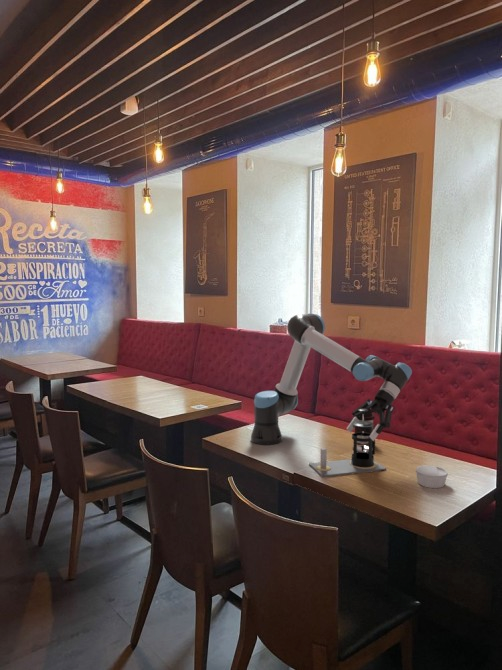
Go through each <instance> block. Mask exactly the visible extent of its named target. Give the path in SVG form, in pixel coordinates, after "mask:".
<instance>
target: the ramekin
mask: <svg viewBox="0 0 502 670" xmlns="http://www.w3.org/2000/svg"><path fill="white" fill-rule="evenodd" d="M415 473H416V478H417V482H418V484H419V485H421V486H423V487H425V488H428V489H441V488H443V487H444V486H445V484H446V481H447V477H448V471H447V470H446V469H444V468H443V467H439V466H434V465H419V466H417V467H416V468H415Z"/></svg>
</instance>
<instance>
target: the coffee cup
mask: <svg viewBox="0 0 502 670" xmlns="http://www.w3.org/2000/svg"><path fill="white" fill-rule="evenodd" d="M355 414H356V413H355ZM352 416H353V415H352ZM375 416H376V415H375V414H374V413H369V414H367V415H365V416H364V421H367V422H371V423H373V424H374V420H375ZM353 417H354V416H353ZM353 417H352V418H353ZM359 421H363V417H362V418H360V419H359ZM373 430H374V429H373ZM373 430H372V431H369V432H364V431H362V430H361V429H359V428H358V427H355V428H354V433H358V432H364V433H372V432H373ZM357 438H362V435H359V436H357ZM367 438H369V436H363V439H367ZM357 444H360V445H362V442H360V441H357ZM363 445H369V442H363Z"/></svg>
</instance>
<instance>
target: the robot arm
mask: <svg viewBox="0 0 502 670" xmlns="http://www.w3.org/2000/svg"><path fill="white" fill-rule="evenodd" d="M286 327H287V328H286V329H287V333H288V335H289V336H290V337H291V338H292V339H293V340H294V342H293V345H292V347H291V350H290V353H289V356H288V359H287V362H286V364H285V367H284V371H283V373H282V376H281V379H280V381H279V382H278V383H277V384H276V385H275V386H274V389H273V390H264V391H263V390H262V391H260V392H258V393H256V394H255V396H254V400H253V404H254V405H253V407H254V408H253V410H254V425H253V428H252V431H251V436H250V441H251V442H252V443H254V444H257V445H264V446H267V445H276V444H280V443H281V442H283V435H282V432H281V429H280V426H279V416H281V415H285V414H288V413H291V412H292V411H293V410H295V409H296V407H297V406H298V403H299V397H298V390H297V387H298V384H299V381H300V379H301V376H302V374H303V370H304V367H305V365H306V362H307V359H308V356H309V355H310V351H311V349H313V350H315V351H316V352H318V353H320V354H321V355H323V356H324V357H326V358H327V359H329V360H331V361H333V362H334V363H336V364H338V366H341V367H342V368H344V369H346V370H347V371H348V372H351V373H352V375H353V377H354V378H355V379H356V380H357V381H359V382H360V381H361V382H366V381H369V380H371V379H374V378H377V377H378V378H380V379H382V380H383V381H384V382H383V384H382V385H381V386H380V387H379V390H377V393H376V394H375V395H374V400H371V399H369V398H367V399H366V400H365V402H364V403H362V404H361V405H360V406H359V407H357V408H355V410H353V411H352V412H351V415H352V416H354V417H352V418H351V420H350V421H349V424H348V425H347V427H346V430H347V431H348V432H349V433H352V432H353V431H354V430H355V427H354V428H353V425H352V423H353V422H356V421H359V419H360V418H362V417H363V414H362V412H361V411H358V409H367V410H368V411H367V412H364V416H365V415H367V414H369V413H372V414H374V413H375V414H377V415H378V416H379V418H378V419H379V422H378V423H377V424H376V425H375V427H374V428H373V432H372V433H371V435H370V436H369V437H370V438H371V439H372V441H374V440H375V441H376V439H377V437H378V436H379V435H380V434H381V433H382V432H383V430H384V429H385V428H388V429H389V428H390V427H391V421H392V415H393V412H394V410H395V408H394V407H393V406H392V405H393V403H394V401H395V399H397V397H398V395H399V393H400V392H401V391H402V389H403V388H404V387H405V385H406V384H407V382H408V381H409V380H410V378H411V376H412V373H413V371H412V368H411V367H410V366H409V365H407V364H406V363H405V362H402V361H401V362H397V363H396V364H395V365H394V364H393V363H390V362H388V361H387V360H384V359H382V358H380V357H379V356H375V355H373V354H370V355H368V356H367V357H366V358H365V359H364V358H363V357H361V356H360V355H358V354H356V353H354V352H352V351H351V350H349V349H348V348H346V347H344V346H343V345H341V344H339V343H338V342H336V341H335V340H332V339H331V338H329V337H328V336H326V335H324V333H325V329H326V323H325V321H324V319H323V318H322V317H321V316H320V315H319V314H316V313H311V312H310V313H305V314H304V313H303V314H296V315H293V316H292V317H290V319H289V320H288V321H287V326H286ZM355 413H356V414H355Z"/></svg>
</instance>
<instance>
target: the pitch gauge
mask: <svg viewBox="0 0 502 670" xmlns="http://www.w3.org/2000/svg"><path fill="white" fill-rule="evenodd" d="M327 452H328V451H327V448H324V447H323V448H320V462H311V463H310V462H309V463H308V466H309V467H310V468H311V469H312V470H313V471H314V472H315V473H317V474H318V475H319V476H320V477H321V478H328V477H329V478H330V477H338V475H340V476H346V475H345V474H349V475H353V474H352V473H358V474H363V473H362V472H366V473H372V472H371V471H375V472H381V470H384V471H387V468H386V467H385V466H384V465H382V464H380V463H379V462H377V461H376V460H374V465H373V466H372V467H365V468H364V467H357V466H354V465H352V464H351V461H352V458H348V459H340V460H339V459H338V460H330V461H329V460H328V461H327Z"/></svg>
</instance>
